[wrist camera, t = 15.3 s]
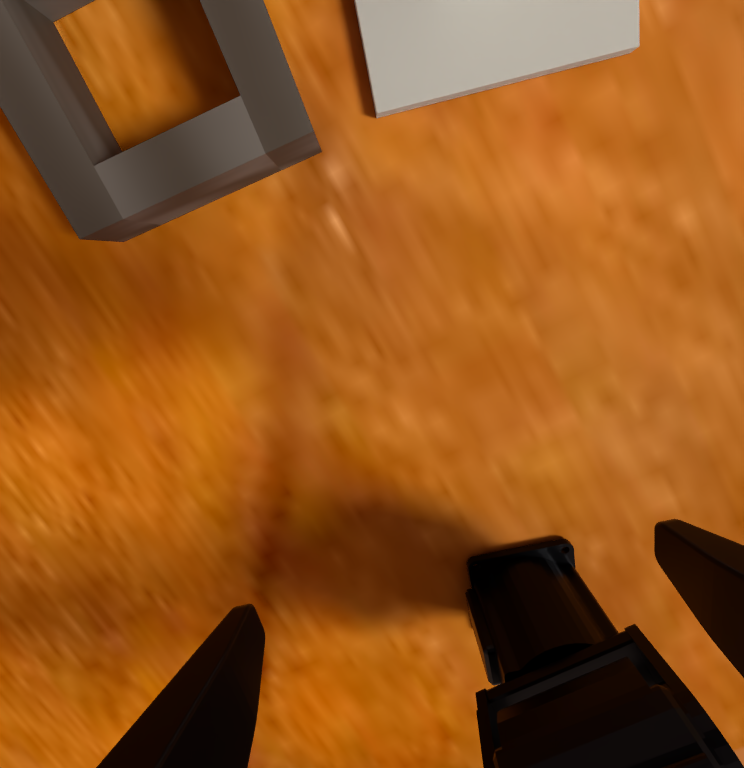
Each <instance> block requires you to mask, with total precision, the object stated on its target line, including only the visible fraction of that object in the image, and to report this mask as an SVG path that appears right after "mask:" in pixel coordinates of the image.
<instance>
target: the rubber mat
mask: <svg viewBox="0 0 744 768" xmlns="http://www.w3.org/2000/svg"><path fill="white" fill-rule="evenodd" d="M354 4H355V9H356V14H357V19H358V24H359V30H360V35H361V40H362V45H363V50H364V56H365V61H366V66H367V71H368V76H369V82H370V87H371V92H372V97H373V103H374V108H375V113H376V118H379V117H383V116H387V115H391V114H395V113H399V112H402V111H406V110H410V109H414V108H418V107H422V106H426V105H430V104H434V103H438V102H442V101H445V100H449V99H453V98H457V97H461V96H465V95H469V94H473V93H477V92H481V91H484V90H488V89H492V88H496V87H500V86H504V85H508V84H512V83H516V82H520V81H523V80H527V79H531V78H535V77H539V76H543V75H547V74H551V73H555V72H559V71H562V70H566V69H570V68H574V67H578V66H582V65H586V64H590V63H594V62H598V61H602V60H605V59H609V58H613V57H617V56H621V55H625V54H629V53H631V52H632V51H633V50H635V49H636V48H637V47H639V0H354Z"/></svg>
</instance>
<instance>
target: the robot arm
mask: <svg viewBox="0 0 744 768" xmlns="http://www.w3.org/2000/svg"><path fill="white" fill-rule="evenodd" d="M563 547H565V548H564V549H562V548H563ZM655 557H656V559H657V561H658V563H659V565H660V567H661V568H662V569H663V571H664V572H665V574H666V575H667V577H668V578H669V579H670V581H671V582H672V584H673V585H674V587H675V588H676V589H677V591H678V592H679V594H680V595H681V597H682V598H683V600H684V601H685V602H686V604H687V605H688V607H689V608H690V610H691V611H692V612H693V614H694V615H695V617H696V618H697V620H698V621H699V622H700V624H701V625H702V627H703V628H704V629H705V631H706V632H707V633H708V635H709V636H710V637H711V639H712V640H713V641H714V642H715V644H716V645H717V646H718V647H719V649H720V650H721V651H722V652H723V654H724V655H725V656H726V657H727V658H728V660H729V661H730V662H731V663H732V664H733V666H734V667H735V668H736V669H737V670H738V672H739V673H740V674H741V675H742V676H743V678H744V545H741V544H739V543H736V542H734V541H731V540H729V539H726V538H724V537H721V536H719V535H716V534H714V533H711V532H709V531H706V530H704V529H701V528H699V527H696V526H694V525H691V524H689V523H686V522H684V521H681V520H678V519H672V520H667V521H662V522H658V523H657V524H656V525H655ZM475 564H478V565H477V566H473V565H475ZM467 569H468V575H469V580H470V585H471V589H467V591H466V593H465V594H466V599H467V604H468V610H469V615H470V620H471V624H472V627H473V630H474V634H475V637H476V641H477V644H478V647H479V651H480V654H481V657H482V661H483V664H484V668H485V671H486V674H487V678H488V681H489V682H490V683H491V684H492V685H498V686H495V687H493V688H491V689H488V690H486V689H483V690H481V691H478V692H476V701H477V708H478V710H477V720H478V728H479V736H480V743H481V751H482V759H483V767H484V768H744V767H743V765H742V764H741V762H740V761H739V759H738V757H737V756H736V754H735V753H734V751H733V750H732V748H731V747H730V745H729V744H728V742H727V741H726V740H725V738H724V737H723V735H722V734H721V732H720V731H719V729H718V728H717V727H716V725H715V724H714V722H713V721H712V720H711V718H710V717H709V716H708V714H707V713H706V711H705V710H704V709H703V707H702V706H701V705H700V703H699V702H698V701H697V700H696V698H695V697H694V696H693V694H692V693H691V692H690V691H689V689H688V688H687V687H686V686H685V684H684V683H683V682H682V681H681V680H680V678H679V677H678V676H677V675H676V674H675V672H674V671H673V670H672V669H671V667H670V666H669V665H668V664H667V663H666V661H665V660H664V659H663V658H662V656H661V655H660V654H659V653H658V652H657V650H656V649H655V648H654V647H653V645H652V644H651V643H650V642H649V641H648V639H647V638H646V637H645V636H644V634H643V633H642V632H641V631H640V630H639V628H638V627H637V626H636V625H635V624H633V625H631V626H629V627H626V628H624V629H625V631H623V632H621V633H618V631H617V630H616V628H615V627H614V625H613V624H612V622H611V621H610V620H609V618H608V617H607V615H606V614H605V612H604V611H603V609H602V608H601V606H600V605H599V603H598V602H597V600H596V599H595V597H594V596H593V595H592V593H591V592H590V590H589V589H588V587H587V586H586V584H585V583H584V581H583V580H582V578H581V577H580V575H579V574H578V572H577V571H576V570H575V559H574V548H573V546H572V544H571V543H570V542H569V541H568V540H566V539H560V540H555V541H549V542H544V543H539V544H534V545H529V546H524V547H519V548H514V549H509V550H504V551H499V552H494V553H489V554H484V555H479V556H474V557H471V558H469V559H468V561H467ZM264 647H265V632H264V628H263V626H262V623H261V621H260V619H259V616H258V614H257V612H256V609H255V607H254V606H253V605H252V604H246V605H241V606H236V607H234V608H233V609H232V610H231V611H230V612H229V613H228V614H227V615H226V617H225V618H224V619H223V620H222V621H221V622H220V624H219V625H218V626H217V627H216V628H215V629H214V631H213V632H212V633H211V634H210V635H209V636H208V638H207V639H206V640H205V641H204V642H203V643H202V645H201V646H200V647H199V648H198V649H197V650H196V652H195V653H194V654H193V655H192V656H191V657H190V659H189V660H188V661H187V662H186V663H185V664H184V666H183V667H182V668H181V669H180V670H179V672H178V673H177V674H176V675H175V676H174V677H173V679H172V680H171V681H170V682H169V683H168V684H167V686H166V687H165V688H164V689H163V690H162V691H161V693H160V694H159V695H158V696H157V697H156V698H155V700H154V701H153V702H152V703H151V704H150V705H149V707H148V708H147V709H146V710H145V711H144V712H143V714H142V715H141V716H140V717H139V718H138V719H137V721H136V722H135V723H134V724H133V725H132V726H131V728H130V729H129V730H128V731H127V732H126V733H125V735H124V736H123V737H122V738H121V739H120V741H119V742H118V743H117V744H116V745H115V746H114V748H113V749H112V750H111V751H110V752H109V753H108V755H107V756H106V757H105V758H104V759H103V760H102V762H101V763H100V764H99V765H98V766H97V767H96V768H247V767H248V762H249V757H250V752H251V747H252V742H253V737H254V731H255V726H256V720H257V712H258V704H259V694H260V685H261V675H262V666H263V656H264ZM499 684H500V685H499Z"/></svg>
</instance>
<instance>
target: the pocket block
mask: <svg viewBox="0 0 744 768" xmlns="http://www.w3.org/2000/svg"><path fill="white" fill-rule="evenodd" d="M92 1H94V0H0V107H1V109H2V110H3V112H4V114H5V115H6V117H7V119H8V120H9V122H10V124H11V125H12V127H13V129H14V130H15V132H16V134H17V135H18V137H19V139H20V140H21V142H22V144H23V145H24V147H25V149H26V150H27V152H28V154H29V155H30V157H31V159H32V160H33V162H34V164H35V165H36V167H37V169H38V170H39V172H40V174H41V175H42V177H43V179H44V180H45V182H46V184H47V185H48V187H49V189H50V191H51V192H52V194H53V196H54V197H55V199H56V201H57V202H58V204H59V206H60V207H61V209H62V211H63V212H64V214H65V216H66V217H67V219H68V221H69V222H70V224H71V226H72V227H73V229H74V231H75V232H76V234H77V236H78V237H79V239H84V240H100V241H116V242H125V241H127V240H129V239H131V238H133V237H136V236H138V235H140V234H142V233H144V232H147V231H149V230H151V229H153V228H155V227H158V226H160V225H162V224H164V223H166V222H169V221H171V220H173V219H175V218H177V217H180V216H182V215H184V214H186V213H188V212H191V211H193V210H195V209H197V208H199V207H202V206H204V205H206V204H208V203H210V202H213V201H215V200H217V199H219V198H221V197H224V196H226V195H228V194H230V193H232V192H235V191H237V190H239V189H241V188H243V187H246V186H248V185H250V184H252V183H254V182H257V181H259V180H261V179H263V178H265V177H268V176H270V175H272V174H274V173H276V172H279V171H281V170H283V169H285V168H287V167H290V166H292V165H294V164H296V163H298V162H301V161H303V160H305V159H307V158H309V157H312V156H314V155H316V154H318V153H320V152H322V151H321V148H320V146H319V143H318V141H317V138H316V135H315V133H314V130H313V128H312V125H311V123H310V120H309V117H308V115H307V112H306V110H305V107H304V105H303V102H302V99H301V97H300V94H299V92H298V89H297V86H296V84H295V81H294V79H293V76H292V74H291V71H290V68H289V66H288V63H287V61H286V58H285V55H284V53H283V50H282V48H281V45H280V43H279V40H278V37H277V35H276V32H275V30H274V27H273V24H272V22H271V19H270V17H269V14H268V12H267V9H266V6H265V4H264V1H263V0H200V2H201V4H202V7H203V9H204V11H205V14H206V16H207V18H208V21H209V23H210V25H211V28H212V30H213V32H214V35H215V37H216V39H217V42H218V44H219V46H220V49H221V51H222V53H223V56H224V58H225V60H226V63H227V65H228V67H229V70H230V72H231V74H232V77H233V79H234V81H235V84H236V86H237V88H238V91H239V93H240V95H241V96H238V97H236V98H234V99H232V100H230V101H228V102H226V103H224V104H222V105H220V106H218V107H216V108H213V109H211V110H209V111H207V112H205V113H203V114H201V115H199V116H197V117H195V118H193V119H191V120H188V121H186V122H184V123H182V124H180V125H178V126H176V127H174V128H172V129H170V130H168V131H166V132H163V133H161V134H159V135H157V136H155V137H153V138H151V139H149V140H147V141H145V142H143V143H141V144H138V145H136V146H134V147H132V148H130V149H128V150H126V151H124V152H122V151H121V149H120V147H119V145H118V143H117V142H116V140H115V138H114V136H113V134H112V132H111V130H110V128H109V127H108V125H107V123H106V121H105V119H104V117H103V115H102V113H101V111H100V110H99V108H98V106H97V104H96V102H95V100H94V98H93V96H92V94H91V93H90V91H89V89H88V87H87V85H86V83H85V81H84V79H83V78H82V76H81V74H80V72H79V70H78V68H77V66H76V64H75V62H74V61H73V59H72V57H71V55H70V53H69V51H68V49H67V47H66V45H65V44H64V42H63V40H62V38H61V36H60V34H59V32H58V30H57V28H56V27H55V25H54V23H53V22H54V21H56V20H58V19H60V18H62V17H64V16H66V15H68V14H69V13H71V12H73V11H75V10H77V9H79V8H81V7H83V6H85V5H87V4H88V3H90V2H92Z"/></svg>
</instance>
